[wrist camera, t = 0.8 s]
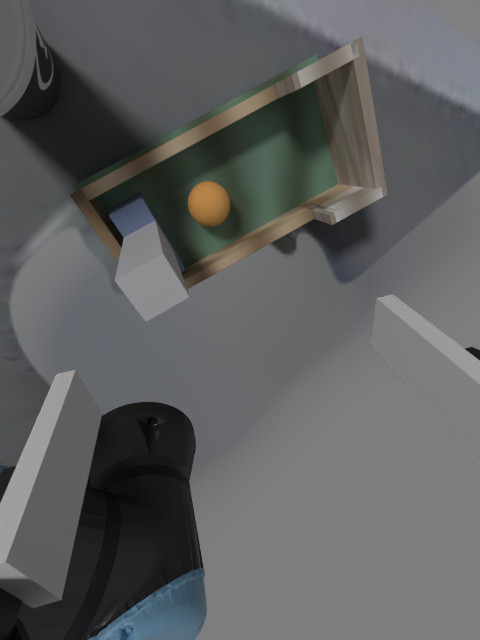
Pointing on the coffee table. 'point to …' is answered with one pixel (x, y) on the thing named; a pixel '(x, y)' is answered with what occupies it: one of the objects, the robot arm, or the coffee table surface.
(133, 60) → the coffee table surface
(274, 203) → the wooden tray
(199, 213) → the ball
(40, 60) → the coffee cup
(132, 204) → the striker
